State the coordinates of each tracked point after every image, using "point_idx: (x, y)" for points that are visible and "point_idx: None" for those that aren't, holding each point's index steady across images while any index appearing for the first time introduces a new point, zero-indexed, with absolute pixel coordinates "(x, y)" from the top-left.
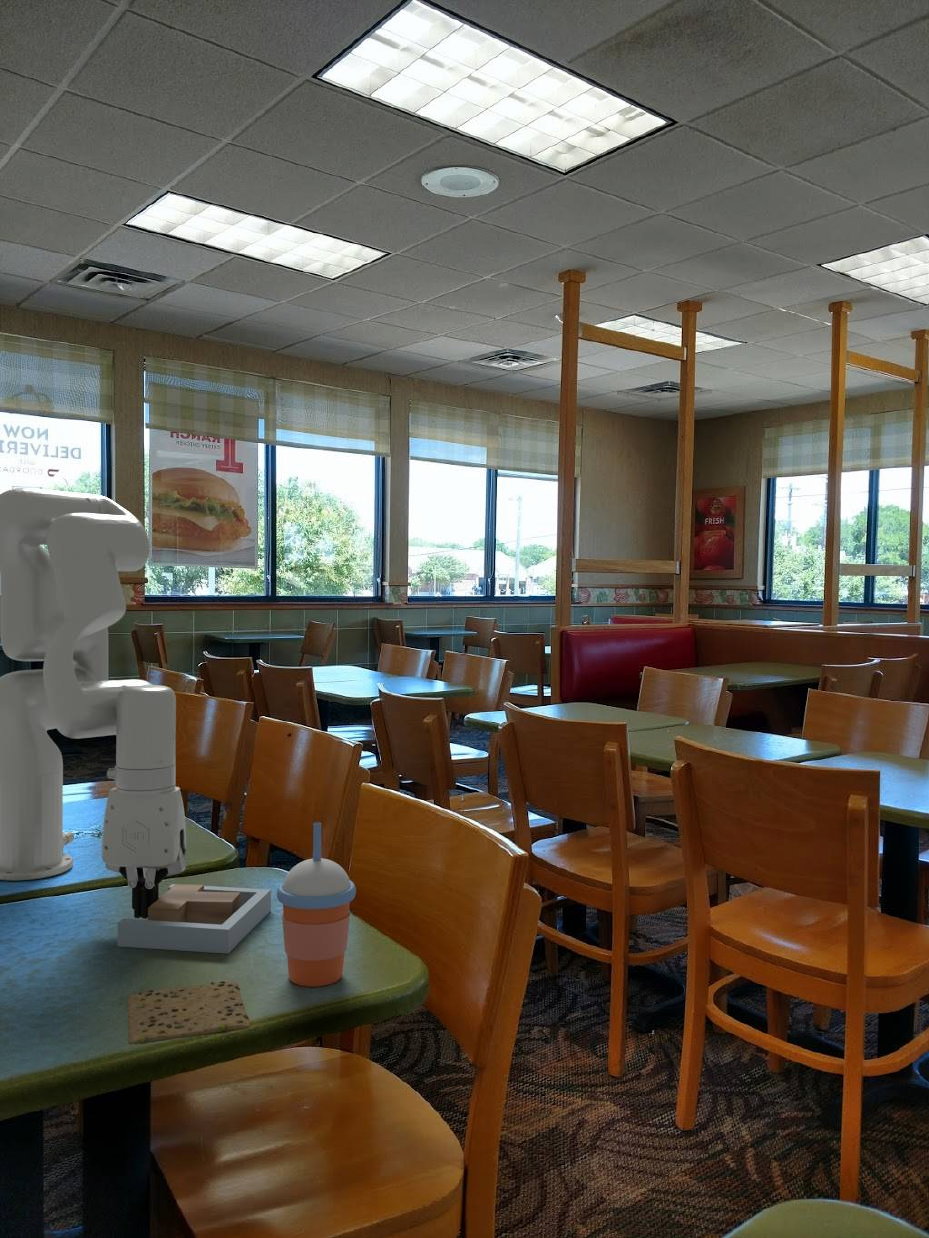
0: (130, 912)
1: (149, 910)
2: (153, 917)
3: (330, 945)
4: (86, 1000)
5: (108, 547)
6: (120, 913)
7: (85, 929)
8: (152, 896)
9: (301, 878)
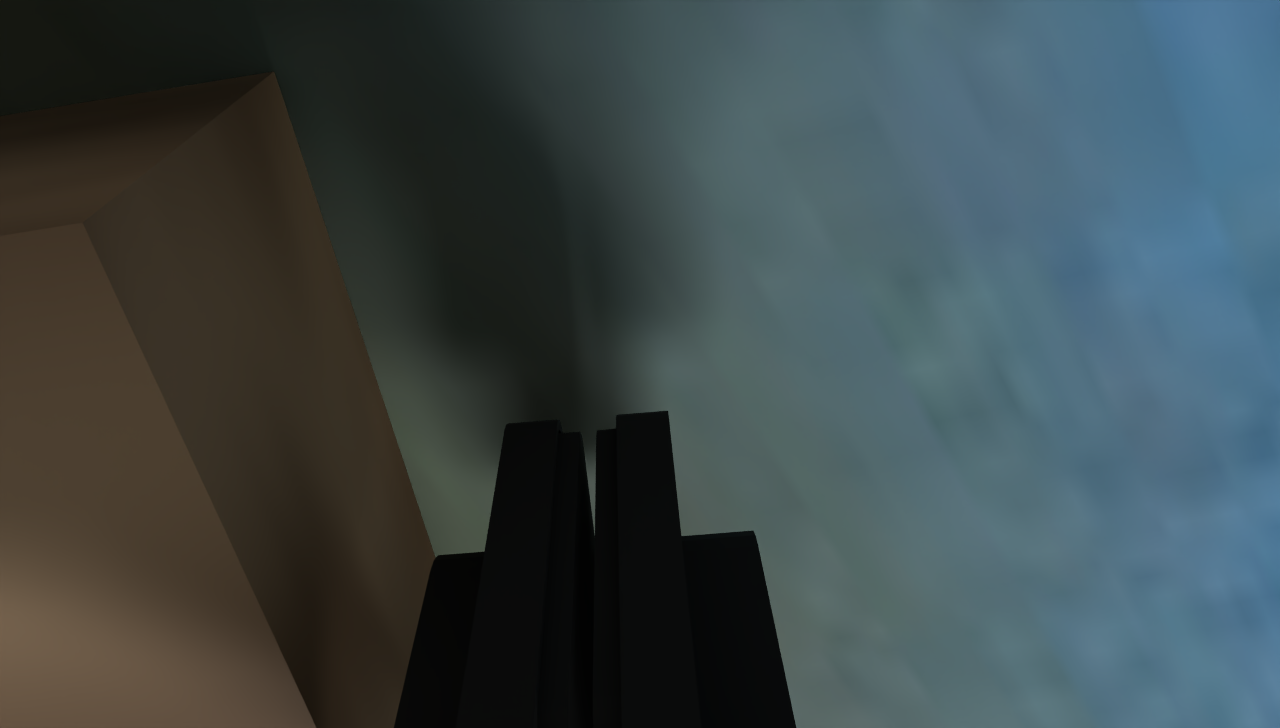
0: (927, 680)
1: (76, 210)
2: (64, 176)
3: None
4: None
5: None
6: (1015, 641)
7: (1238, 163)
8: (410, 694)
9: None
